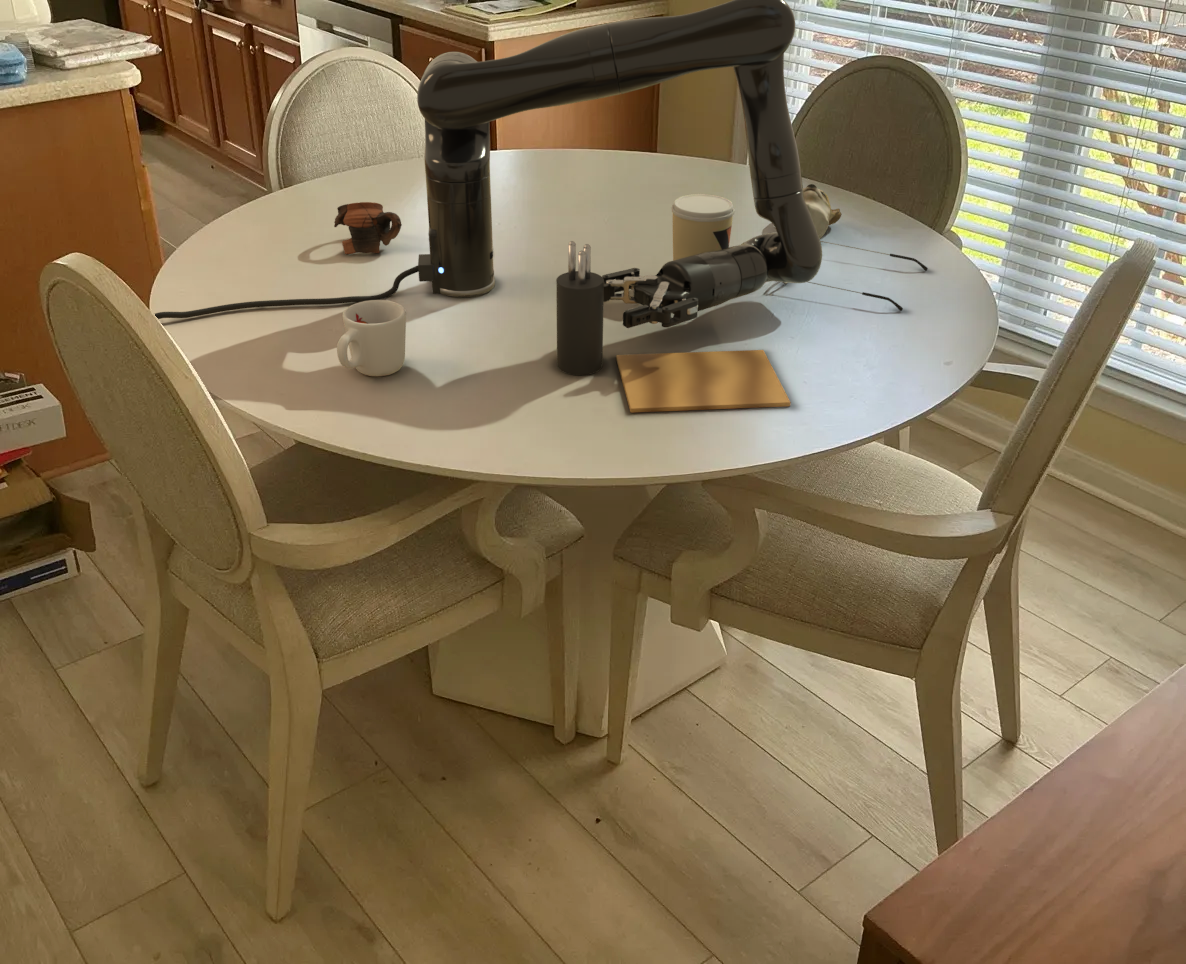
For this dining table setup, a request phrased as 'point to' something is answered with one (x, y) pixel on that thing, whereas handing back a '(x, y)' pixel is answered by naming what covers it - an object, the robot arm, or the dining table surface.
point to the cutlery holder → (579, 315)
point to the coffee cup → (701, 224)
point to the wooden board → (700, 381)
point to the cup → (373, 337)
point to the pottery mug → (367, 226)
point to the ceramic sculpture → (820, 209)
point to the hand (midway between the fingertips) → (604, 308)
